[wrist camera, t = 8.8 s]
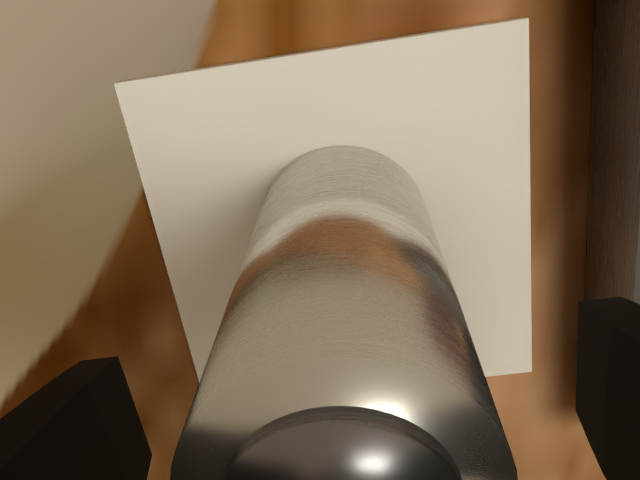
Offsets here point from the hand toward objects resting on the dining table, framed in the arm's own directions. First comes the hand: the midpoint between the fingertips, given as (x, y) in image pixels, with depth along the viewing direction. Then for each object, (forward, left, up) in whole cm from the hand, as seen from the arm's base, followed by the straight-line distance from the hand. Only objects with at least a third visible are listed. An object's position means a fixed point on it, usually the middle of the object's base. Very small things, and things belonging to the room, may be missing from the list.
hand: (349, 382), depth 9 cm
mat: (0, 0, -6) cm, 6 cm away
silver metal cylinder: (0, 0, -6) cm, 6 cm away
